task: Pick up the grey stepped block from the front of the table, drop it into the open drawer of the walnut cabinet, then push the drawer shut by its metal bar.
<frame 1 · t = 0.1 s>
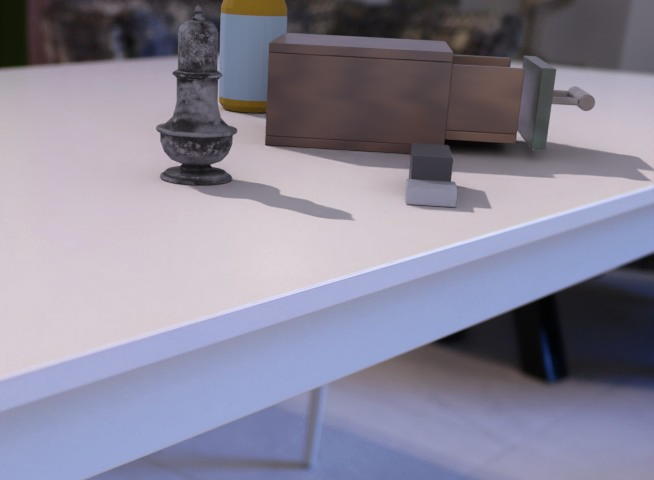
bottle: (250, 110, 114), on the table
drawer: (483, 97, 96), point 4 cm above the table, slide at 7.5 cm
cabinet: (356, 137, 99), on the table
salt shaker: (196, 180, 77), on the table
grey stepped block: (428, 192, 76), on the table
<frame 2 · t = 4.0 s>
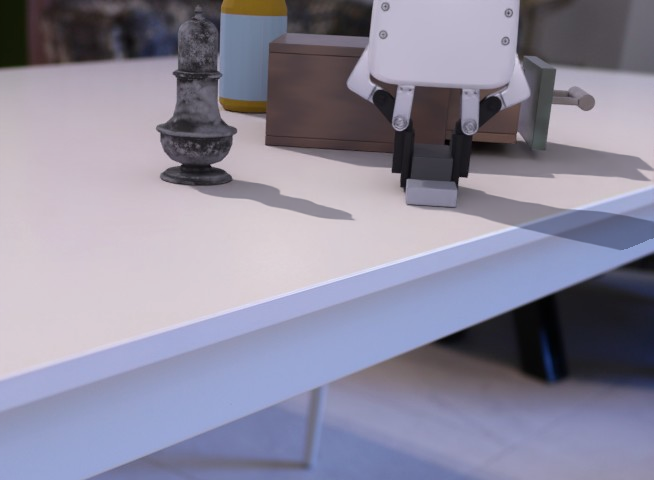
hand: (428, 183, 77), 0 cm above the table, tool pointing down, fingers closed on grey stepped block, 2 cm apart
grey stepped block: (428, 192, 76), on the table, touching gripper
everything else where it was.
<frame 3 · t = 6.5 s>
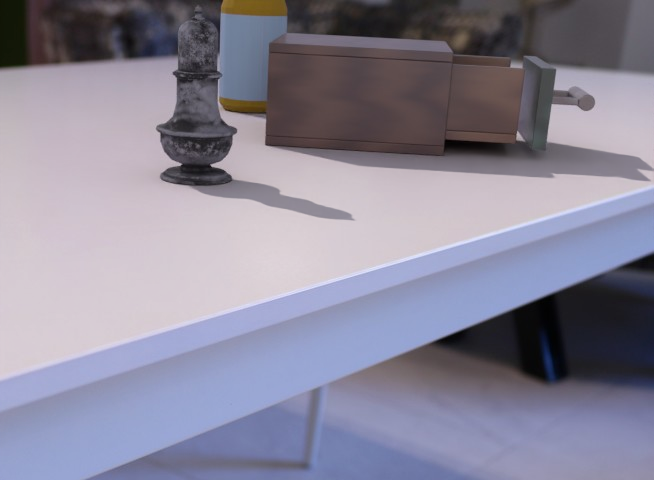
when the fingers open (10 cm above the table, at t = 9.1 s): grey stepped block drops 7 cm, resting on drawer.
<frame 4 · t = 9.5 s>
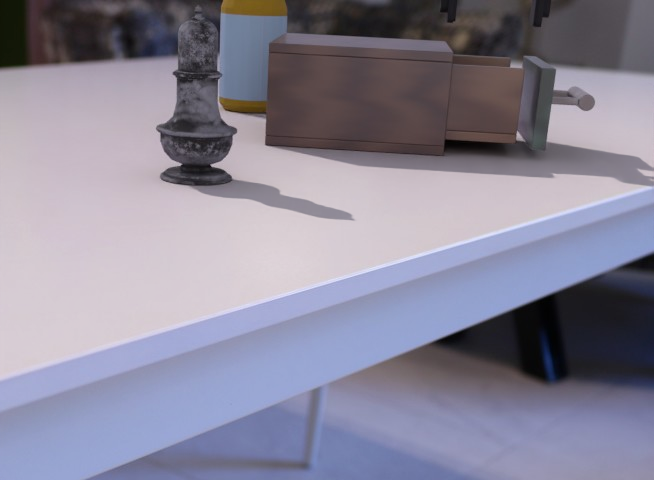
hand: (492, 22, 95), 11 cm above the table, tool pointing down, fingers open, 7 cm apart
drawer: (483, 97, 96), point 4 cm above the table, slide at 7.5 cm, touching grey stepped block
grey stepped block: (482, 122, 98), point 2 cm above the table, touching drawer
everything else where it was.
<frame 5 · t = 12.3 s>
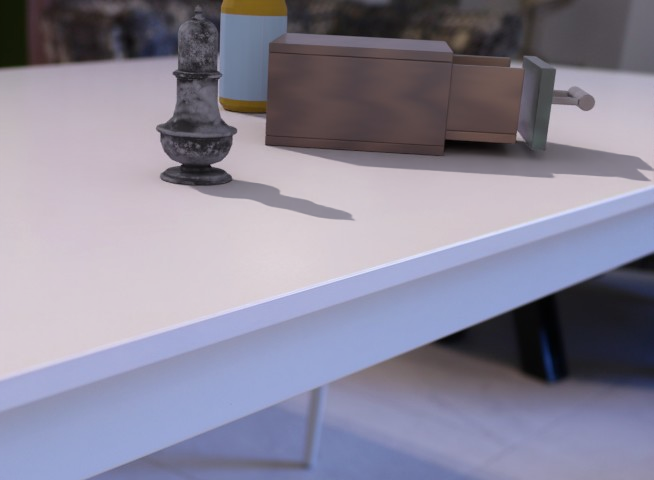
nothing on the table moved.
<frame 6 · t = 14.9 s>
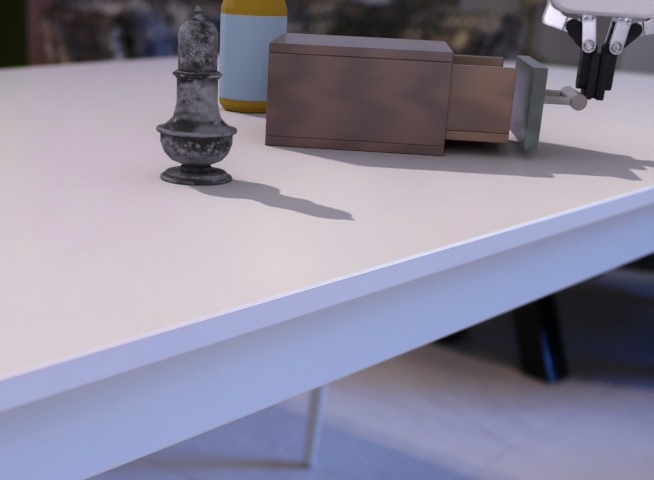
hand: (591, 97, 95), 5 cm above the table, tool pointing down, fingers closed
drawer: (476, 97, 96), point 4 cm above the table, slide at 6.8 cm, touching gripper, grey stepped block
everything else where it was.
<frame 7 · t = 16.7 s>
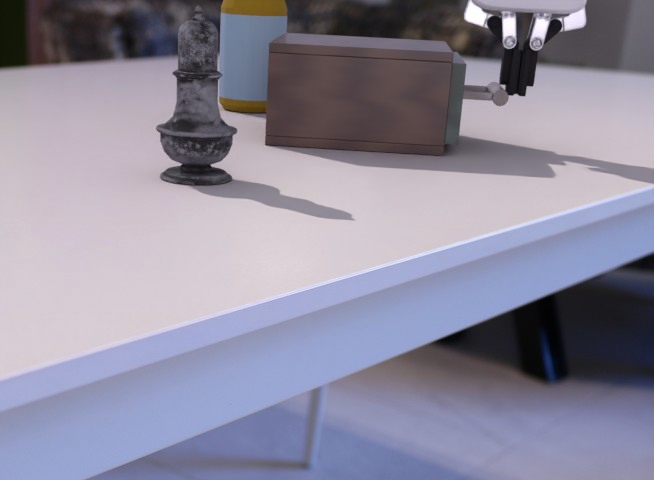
hand: (514, 93, 96), 5 cm above the table, tool pointing down, fingers closed
drawer: (401, 92, 97), point 4 cm above the table, slide at 0.0 cm, touching cabinet, gripper, grey stepped block
grey stepped block: (401, 117, 98), point 2 cm above the table, touching drawer
everything else where it was.
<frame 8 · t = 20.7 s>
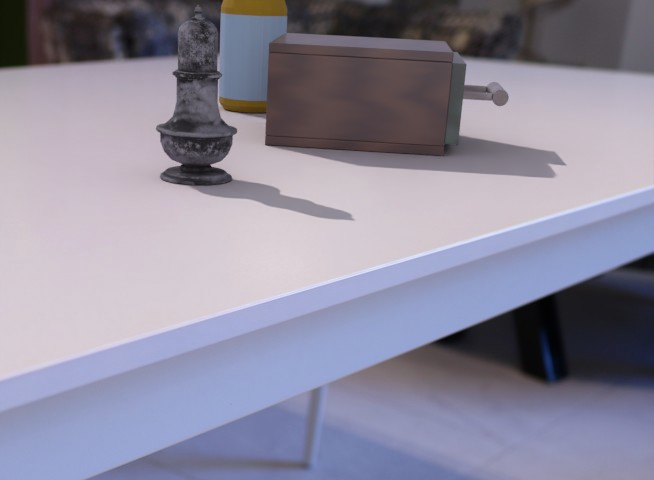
drawer: (401, 92, 97), point 4 cm above the table, slide at 0.0 cm, touching cabinet, grey stepped block
everything else where it was.
at the end: grey stepped block inside the target area in the cabinet (4.1 cm from its centre), point 2.0 cm above the cabinet's base; drawer slide at 0.0 cm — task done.
